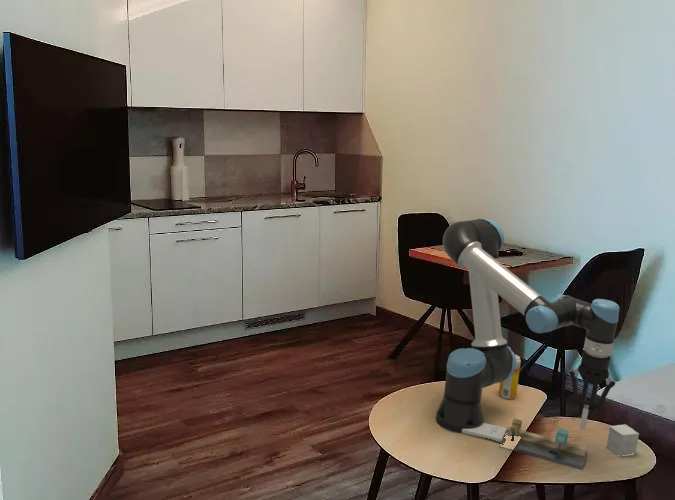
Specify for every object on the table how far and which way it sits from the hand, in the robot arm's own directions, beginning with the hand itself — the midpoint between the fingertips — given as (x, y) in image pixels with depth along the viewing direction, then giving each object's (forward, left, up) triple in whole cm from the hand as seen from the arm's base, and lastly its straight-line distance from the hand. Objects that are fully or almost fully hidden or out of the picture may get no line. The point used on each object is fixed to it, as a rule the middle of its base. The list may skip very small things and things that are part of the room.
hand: (582, 427), depth 204 cm
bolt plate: (-10, -3, -9) cm, 14 cm away
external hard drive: (-28, -2, -9) cm, 30 cm away
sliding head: (-5, -2, -8) cm, 10 cm away
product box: (+11, +10, -10) cm, 18 cm away
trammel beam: (-10, -2, -8) cm, 13 cm away
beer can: (-28, +30, -10) cm, 42 cm away
